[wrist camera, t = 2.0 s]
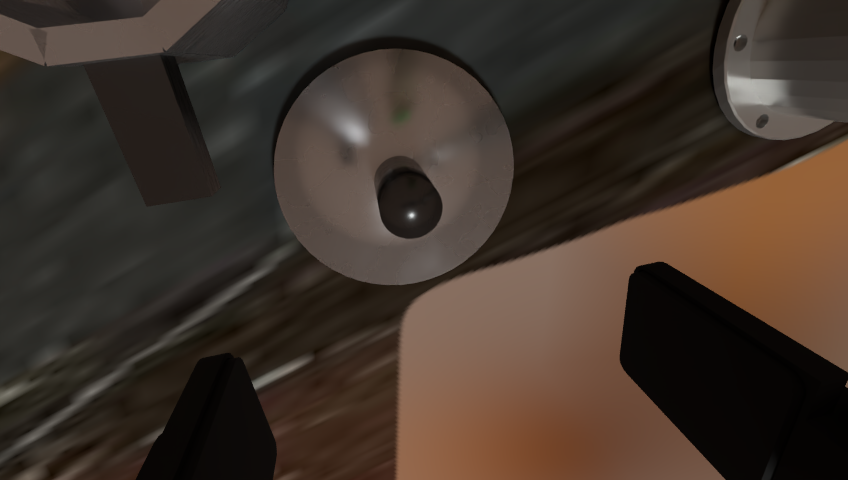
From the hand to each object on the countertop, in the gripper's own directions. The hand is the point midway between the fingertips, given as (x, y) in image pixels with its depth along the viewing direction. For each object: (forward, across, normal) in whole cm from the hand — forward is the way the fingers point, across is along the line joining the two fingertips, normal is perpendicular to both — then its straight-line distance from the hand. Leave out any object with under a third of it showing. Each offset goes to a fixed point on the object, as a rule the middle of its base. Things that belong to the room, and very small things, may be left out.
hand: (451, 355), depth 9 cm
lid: (+16, -1, 0) cm, 16 cm away
